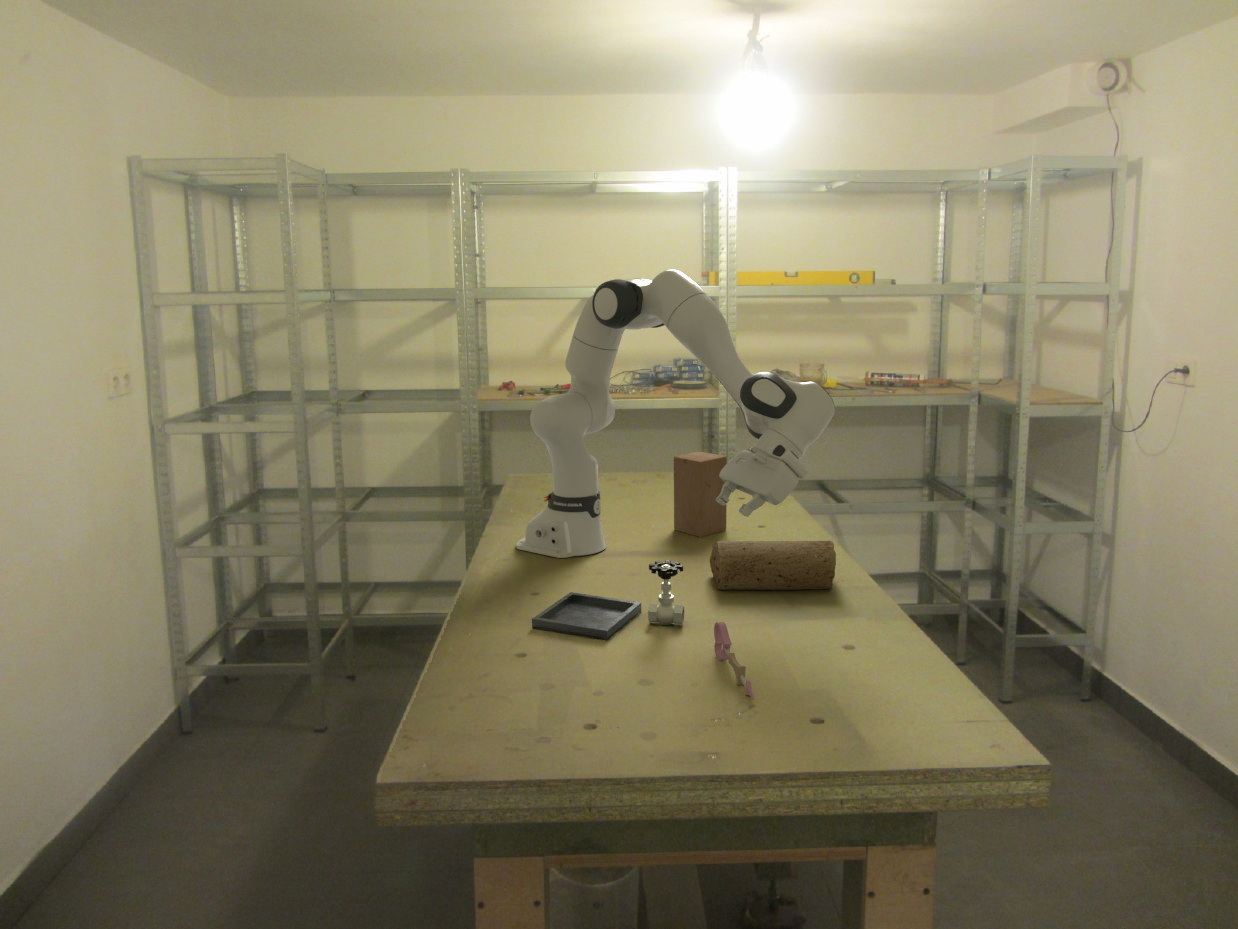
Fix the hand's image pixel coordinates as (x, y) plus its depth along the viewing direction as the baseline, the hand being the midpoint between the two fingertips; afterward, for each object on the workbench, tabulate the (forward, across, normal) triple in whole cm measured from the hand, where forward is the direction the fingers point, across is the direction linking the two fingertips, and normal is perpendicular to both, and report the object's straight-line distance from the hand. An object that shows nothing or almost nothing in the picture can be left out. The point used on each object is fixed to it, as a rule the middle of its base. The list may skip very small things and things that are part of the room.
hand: (730, 508), depth 176 cm
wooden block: (0, -56, +30) cm, 64 cm away
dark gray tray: (+34, -8, -4) cm, 36 cm away
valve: (+25, 0, +5) cm, 26 cm away
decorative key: (+25, +26, +6) cm, 36 cm away
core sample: (+4, -12, +27) cm, 30 cm away
